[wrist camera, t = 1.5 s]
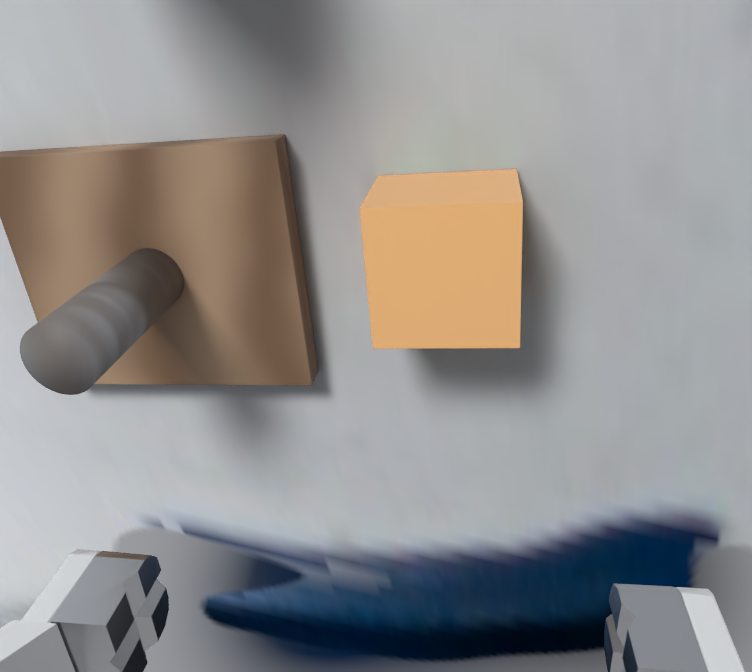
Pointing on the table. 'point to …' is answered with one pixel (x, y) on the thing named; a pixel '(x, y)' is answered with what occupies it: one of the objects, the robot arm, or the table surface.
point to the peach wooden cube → (444, 259)
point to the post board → (193, 227)
